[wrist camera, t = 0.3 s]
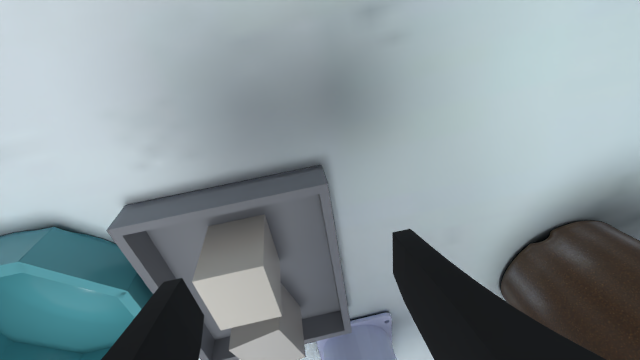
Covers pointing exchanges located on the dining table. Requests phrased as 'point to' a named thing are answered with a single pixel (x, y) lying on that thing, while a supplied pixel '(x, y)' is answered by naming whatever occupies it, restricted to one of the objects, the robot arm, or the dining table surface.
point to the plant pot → (582, 287)
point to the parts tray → (235, 204)
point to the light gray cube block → (271, 335)
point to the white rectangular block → (239, 273)
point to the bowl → (64, 295)
